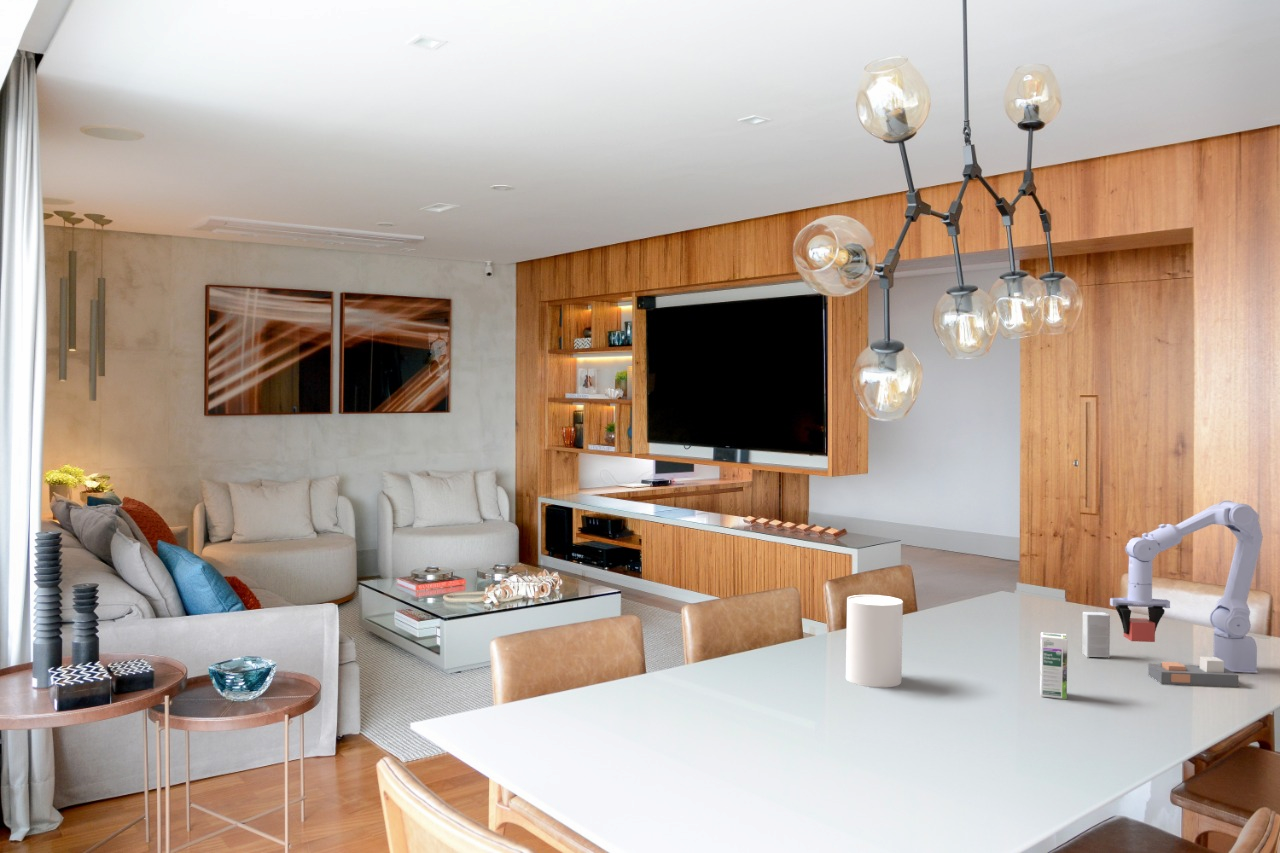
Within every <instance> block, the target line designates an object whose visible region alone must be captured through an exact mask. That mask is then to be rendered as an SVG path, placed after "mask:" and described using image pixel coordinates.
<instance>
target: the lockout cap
mask: <svg viewBox="0 0 1280 853" xmlns="http://www.w3.org/2000/svg"><path fill="white" fill-rule="evenodd" d="M1123 637H1124V638H1126V639H1128V640H1129V641H1131V642H1142V643H1143V642H1144V643H1145V642H1146V643H1147V642H1148V643H1155V642H1156V631H1155V623H1154V622H1152V621H1150V620H1149V618H1145V617H1144V618H1143V617H1142V618H1141V617H1130V631H1129V634H1125V633H1124V632H1123Z"/></svg>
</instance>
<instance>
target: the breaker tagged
mask: <svg viewBox="0 0 1280 853" xmlns="http://www.w3.org/2000/svg"><path fill="white" fill-rule="evenodd" d="M1161 664H1162V667H1163V668H1165V669H1166V670H1168V671H1186V667H1185V666H1184V665H1185V664H1182V663H1181V662H1174V661H1162V662H1161Z"/></svg>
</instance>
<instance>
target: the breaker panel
mask: <svg viewBox="0 0 1280 853" xmlns="http://www.w3.org/2000/svg"><path fill="white" fill-rule="evenodd" d="M1183 665H1184V666H1185V667H1186V671H1168V670H1166V669H1165V668H1163V667H1162V663H1148V666H1147V667H1148V671H1147V672H1148V674H1147V675H1148V676H1149V675H1150V676H1151V677H1150V676H1149V677H1150V678H1152V677H1153V678H1154V679H1153V678H1152V679H1153V680H1155V679H1156V680H1157V681H1156V680H1155V681H1156V682H1158V681H1159V682H1160V683H1162V684H1161V685H1173V684H1179V685H1178V686H1198V687H1199V686H1201V687H1225V688H1239V674H1237V672H1232V671H1230V670H1228V669H1226V668H1225V667H1224V673H1216V672H1205V671H1203V670H1202V669H1200V665H1196V664H1195V665H1193V664H1192V665H1189V664H1183ZM1159 682H1158V683H1159ZM1160 683H1159V684H1160Z"/></svg>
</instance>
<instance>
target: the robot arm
mask: <svg viewBox="0 0 1280 853" xmlns="http://www.w3.org/2000/svg"><path fill="white" fill-rule="evenodd" d="M1259 518H1260V516H1259V514H1258V513H1257V512H1256V510H1254V508H1253V507H1252V506H1250V505H1249V504H1246V503H1240V502H1234V501H1231V500H1223V501H1220V502H1219V503H1216V504H1212V505H1210V506H1209V507H1207V508H1206V509H1203V510H1202V511H1200V512H1198V513H1196V514H1194V515H1192V516H1190V517H1188V518H1187V519H1184V520H1183V521H1181V522H1179V523H1177V524H1175V525H1174V524H1171V523H1167V524H1164V523H1162V524H1161V523H1160V524H1158V528H1156V529H1154V530H1152V531H1150V532H1144V533H1142V534H1141V537H1138V536H1137V537H1133V538H1131V539H1129V540H1128V542H1127V544H1126V546H1125V547H1124V550H1125V553H1126V554H1127V556H1128V571H1127V572H1128V575H1127V576H1128V578H1127V579H1128V582H1127V584H1128V585H1127V597H1110V599H1109V606H1110V607H1115V608H1114V609H1116V611H1117V614H1118V616H1119V618H1120V621H1121V625H1122V628H1123V629H1122V630H1123V634H1124V633H1125V634H1129V631H1130V618H1131V614H1132V610H1131V609H1130V607H1133V608H1135V607H1136V608H1140V607H1141V608H1147V612H1148V620H1150V621H1152V622H1154V623H1155V632H1156V630H1157V628H1158V625H1159V623H1160V621H1161V619H1162V617H1163V616H1164V614H1165V609H1171V601H1170V600H1168V599H1158V598H1153V568H1154V567H1153V562H1154V559H1155V558H1156V557H1157V554H1160V553H1161V552H1164V551H1166V550H1168V549H1171V548H1172V547H1175V546H1176V545H1179V544H1181V543H1182V540H1183V537H1185V536H1187V535H1189V534H1192V533H1195V532H1197V531H1199V530H1203V529H1205V528H1207V527H1209V526H1211V525H1217V526H1219V525H1220V526H1225V527H1227V529H1229V530H1230V532H1231V533H1232V534H1233V535H1234V536H1235V538H1236V539H1237V541H1236V544H1235V549H1234V552H1233V556H1232V560H1231V565H1230V569H1229V572H1228V575H1227V576H1228V577H1227V580H1226V583H1225V584H1226V585H1225V588H1224V592H1223V596H1222V597H1221V598H1219V599H1218V601H1217V602H1216V606H1215V607H1214V608H1213V610H1212V611H1211V612H1210V613H1209V622H1210V624H1211V626H1212V627H1214V629H1213V645H1212V646H1213V648H1212V649H1213V651H1212V652H1213V653H1212V657H1217V658H1219V659H1221V660H1223V661H1224V667H1225V668H1226V669H1228V670H1230V671H1232V672H1234V673H1249V674H1252V673H1253V674H1258V673H1259V671H1258V670H1257V667H1258V666H1257V664H1258V663H1257V662H1258V645H1257V641H1256V640H1255V638H1254V637H1253V636H1250V635H1247V634H1248V633H1249V632H1250V630H1251V621H1250V615H1251V610H1250V608H1249V606H1248V602H1247V601H1248V598H1249V594H1250V590H1251V586H1252V582H1253V578H1254V574H1255V570H1256V567H1257V562H1258V559H1259V558H1258V557H1259V555H1260V550H1261V546H1262V543H1263V538H1264V537H1263V533H1262V530H1261V526H1260V523H1259Z"/></svg>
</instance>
